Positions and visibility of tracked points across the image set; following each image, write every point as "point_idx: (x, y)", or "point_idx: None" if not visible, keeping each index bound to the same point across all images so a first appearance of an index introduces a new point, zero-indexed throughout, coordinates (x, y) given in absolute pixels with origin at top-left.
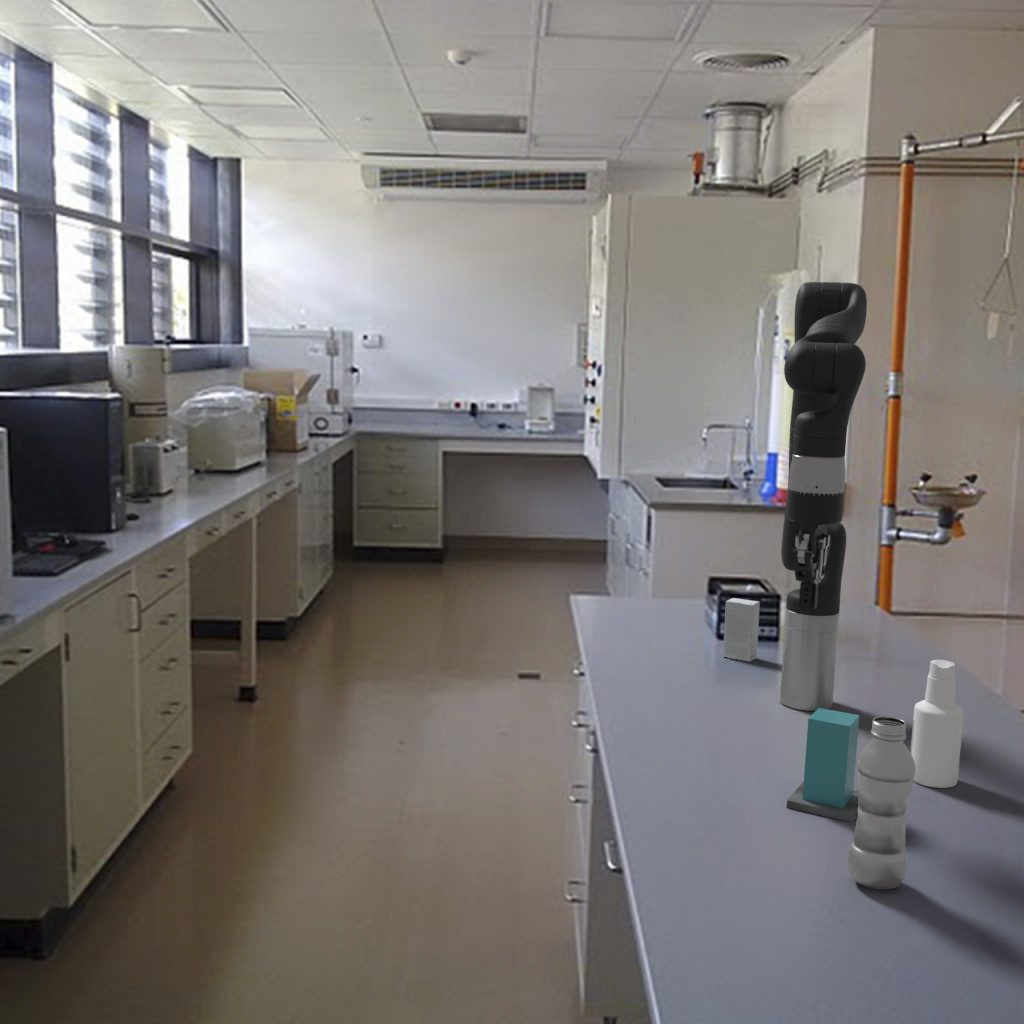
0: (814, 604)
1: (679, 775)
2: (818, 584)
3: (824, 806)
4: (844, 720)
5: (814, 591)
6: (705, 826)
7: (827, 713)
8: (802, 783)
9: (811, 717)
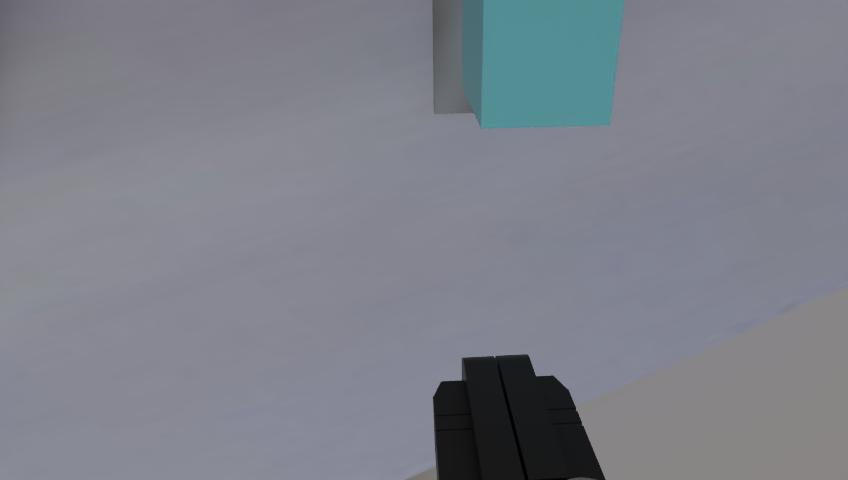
0: (531, 372)
1: (516, 325)
2: (484, 474)
3: None
4: (570, 17)
5: (556, 443)
6: (735, 206)
7: (524, 88)
8: (459, 111)
9: (594, 119)
